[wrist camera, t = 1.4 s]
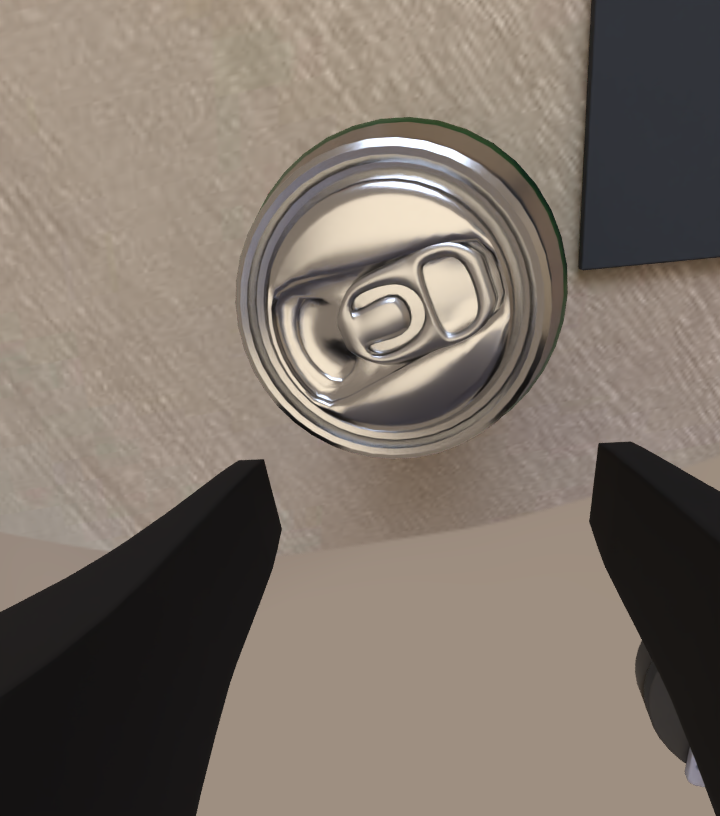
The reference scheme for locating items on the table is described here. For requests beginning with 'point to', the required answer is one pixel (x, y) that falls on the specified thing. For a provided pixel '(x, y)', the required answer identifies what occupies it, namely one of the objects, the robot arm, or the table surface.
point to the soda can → (401, 288)
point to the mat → (651, 134)
